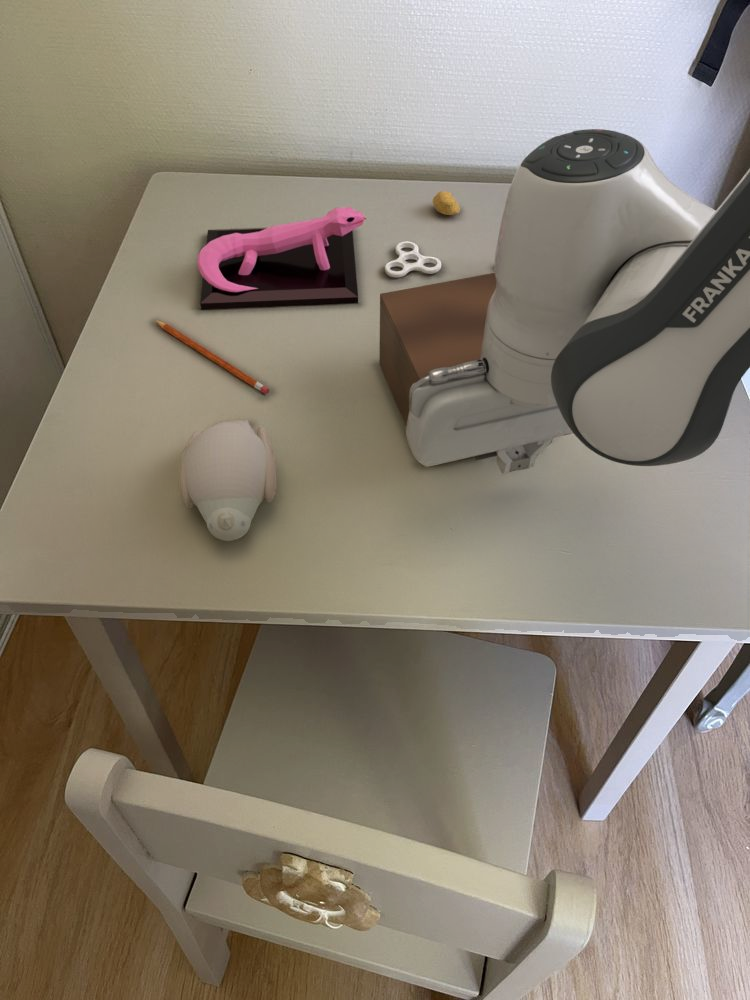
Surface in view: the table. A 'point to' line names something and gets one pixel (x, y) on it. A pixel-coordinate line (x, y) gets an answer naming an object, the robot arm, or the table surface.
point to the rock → (446, 203)
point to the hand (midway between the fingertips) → (514, 465)
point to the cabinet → (431, 330)
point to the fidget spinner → (411, 266)
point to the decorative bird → (228, 476)
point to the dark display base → (281, 264)
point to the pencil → (214, 358)
